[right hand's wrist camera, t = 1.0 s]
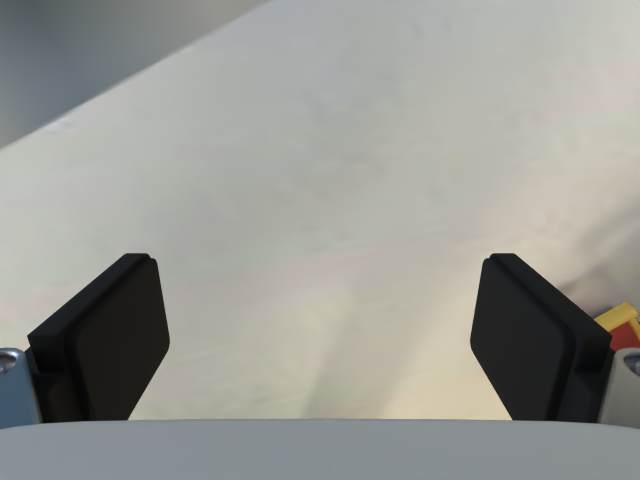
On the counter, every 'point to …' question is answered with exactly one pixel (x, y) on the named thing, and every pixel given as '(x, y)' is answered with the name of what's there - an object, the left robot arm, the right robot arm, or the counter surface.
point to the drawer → (621, 326)
